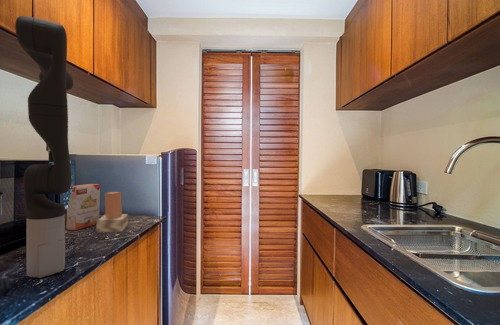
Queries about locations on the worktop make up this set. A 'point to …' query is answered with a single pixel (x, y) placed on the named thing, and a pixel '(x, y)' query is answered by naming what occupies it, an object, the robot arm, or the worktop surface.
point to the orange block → (113, 205)
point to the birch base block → (111, 224)
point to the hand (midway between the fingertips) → (56, 162)
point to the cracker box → (83, 206)
